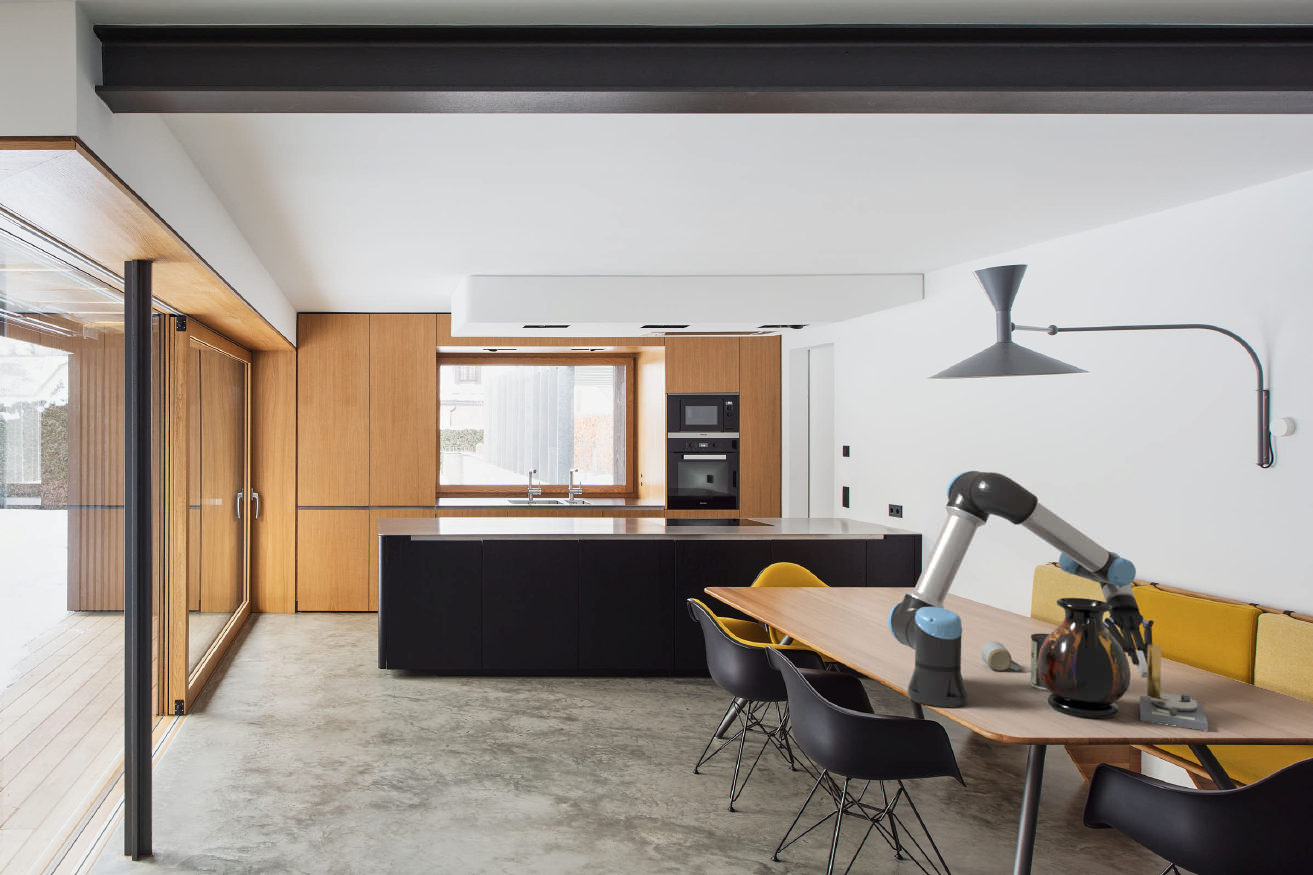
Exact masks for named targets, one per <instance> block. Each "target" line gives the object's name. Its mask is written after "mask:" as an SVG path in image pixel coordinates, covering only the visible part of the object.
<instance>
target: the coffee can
mask: <svg viewBox="0 0 1313 875" xmlns="http://www.w3.org/2000/svg"><path fill="white" fill-rule="evenodd" d="M1050 634H1051V633H1032V634H1031V635H1030V638H1031V640H1030V641H1031V643H1030V644H1031V646H1030V647H1031V648H1030V649H1031V650H1030V652H1031V654H1030V656H1031V657H1030V685H1031V686H1032V687H1033V688H1036V689H1038V690H1041V691H1045V692H1046V691H1047V692H1049V691H1048V690H1047V689H1046V687H1045V686H1044V685H1043V683H1042V682H1041V680H1040V677H1039V674H1038V656H1039V652H1040V649H1041V646H1042V644H1043V643H1044V641H1045V639H1046V638H1047V637H1048V635H1050Z"/></svg>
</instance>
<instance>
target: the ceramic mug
mask: <svg viewBox="0 0 1313 875" xmlns="http://www.w3.org/2000/svg"><path fill="white" fill-rule="evenodd" d="M980 655H981V658H982V660H983V661H984V662H985V664H986V665H987V666H988V667H990V669H992V670H994V671H997V672H1004V671H1006V670H1008V669H1012V670H1014V671H1016V672H1018V671H1020V670H1021V665H1020V664H1019V663H1017V662H1016V661H1014V660H1013V659H1012V656H1011V653H1010V652H1009V651H1008V650H1007V649H1006V647H1005V646H1004V644H1002V643H1000V642H999V641H996V640H995V641H994V640H992V641H988V642H986V643H985V644H983V646H982V648H981V651H980Z"/></svg>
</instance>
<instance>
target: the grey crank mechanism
mask: <svg viewBox="0 0 1313 875" xmlns="http://www.w3.org/2000/svg"><path fill="white" fill-rule="evenodd" d="M1203 706H1204V705H1203V704H1202V703H1198V702H1197V710H1196V711H1191V712H1184V711H1177V710H1176V709H1174V708H1171V709H1170V710H1169V709H1165V708H1161V707H1158V706H1156V705H1154V704H1152V703H1151V697H1150V696H1147V695H1143V694H1142V695H1141V694H1139V717H1140V718H1139V719H1140V720H1142V721H1141V722H1144V721H1148V722H1147V723H1150V722H1154V723H1153V724H1156V723H1161V724H1160V725H1163V724H1168V725H1167V726H1169V725H1176V726H1181V727H1180V728H1182V727H1185V728H1184V729H1188V728H1192V729H1191V730H1194V729H1199V730H1198V731H1201V730H1207V731H1208V730H1209V723H1208V719H1207V716H1206V713H1205V708H1204V707H1203ZM1207 731H1206V732H1207ZM1208 732H1209V731H1208Z"/></svg>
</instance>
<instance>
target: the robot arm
mask: <svg viewBox="0 0 1313 875" xmlns="http://www.w3.org/2000/svg"><path fill="white" fill-rule="evenodd" d="M946 496H947V500H948V501H947V503H946V506H945V510H946V513H947V517H946V520H945V521H944V524H943V526H942V528H941V529H940V532H939V534H938V537H937V538H936V541H935V543H934V545H933V547H932V550H931V551H930V554H929V556H928V558H927V560H926V563H925V564H924V567H923V569H922V571H921V573H920V575H919V578H918V580H917V583H916V585H915V587H914V589H913V590H909V591H908V592H906V593H905V595H904V597H903V599H902V601H900V602H899V603H897V604H895V605H894V606H893V607H892V608H891V610H890V611H889V614H888V617H887V625H888V629H889V631H890V633H891V635H892V637H893V638H894V639H895V640H897V641H898V642H899V643H900V644H901V645H904V646H905V647H909V648H910V649H913V650H914V670H913V672H912V675H911V678H910V680H909V682H908V686H907V697H908V699H910V700H911V701H913V702H916V703H919V704H922V705H926V706H930V707H931V705H933V706H932V707H939V708H957V707H964V706H966V705H967V704H968V692H967V688H966V684H965V681H964V679H963V674H962V638H963V637H962V633H963V626H962V619H961V617H960V615H958V613H956V612H954V611H953V610H950V609H946V608H945V606H944V602H945V600H946V598H947V595H948V593H949V590H950V589H951V586H952V584H953V582H954V580H955V577H956V575H957V574H958V571H959V568H960V567H961V564H962V562H963V560H964V558H965V556H966V553H967V551H968V550H969V547H970V545H971V542H972V541H973V538H974V536H975V535H976V531H977V530H978V528H979V527H982V526H985V525H986V523H987V521H988V519H989V517H990V515H993V516H997V517H1000V518H1003V519H1005V520H1007V521H1009V522H1010V523H1011V524H1013V525H1015V526H1018V525H1021V526H1023V527H1024V528H1025V529H1027V530H1029V531H1030V532H1032V533H1033V534H1034V535H1036V536H1037V537H1039V538H1040V539H1042V540H1043V541H1044V542H1046V543H1048V544H1049V545H1051V547H1054V548H1055V549H1056V550H1058V551H1059V552H1060V556H1059V559H1058V564H1059V568H1060V569H1061V571H1063V572H1065V573H1068V574H1070V575H1074V576H1076V577H1080V578H1083V579H1087V580H1090V581H1092V582H1096V583H1098V584H1099V585H1100V589H1101V592H1102V594H1103V598H1104V602H1106V603H1109V604H1110V605H1111V606H1112V609H1111V610H1110V611H1108V613H1109V617H1105V619H1104V621H1103V624H1104V626H1105V627H1106V629H1107V630H1108V631H1109V632H1110V633H1111V634H1112V636H1113V637H1114V638H1115V639H1116V640H1117V641H1118V642H1119V644H1120V645H1121V647H1122V648H1123V650H1124V652H1125V654H1126V653H1127V656H1128V657H1130V659H1131V663H1132V664H1133V665H1134V666H1135V665H1136V667H1137V670H1138V673H1139V677H1140V678H1146V679H1147V649H1148V644H1153V628H1152V627H1153V626H1154V621H1153V620H1152V619H1151V620H1149V621H1148V620H1147V619H1145V618H1144V616H1143V615H1142V614H1141V613H1140V612H1141V611H1140V609H1139V605H1138V602H1137V600H1136V598H1135V595H1134V592H1133V589H1132V586H1131V583H1132V582H1134V580H1135V578H1136V576H1137V570H1136V566H1135V564H1134V563H1133V562H1132V561H1131V560H1129V559H1125V557H1121V556H1120V555H1119V554H1117V553H1116V552H1114V551H1113V552H1112V551H1109V550H1107V549H1106V548H1104V547H1103V546H1101V545H1100V544H1099V543H1098V542H1095V541H1094V540H1093V539H1091V538H1090V537H1088V536H1087V535H1086V534H1084V533H1083V532H1081V531H1080V530H1079V529H1077V528H1076V527H1074V526H1073V525H1071V524H1070V523H1068V522H1067V521H1065V519H1063V518H1061V517H1060V516H1058V515H1057V514H1056V513H1054V512H1053V511H1052V510H1050V509H1049V508H1047V507H1046V506H1044V505H1043V504H1042V503H1040V502H1039V499H1038V497H1037V496H1036V495H1035V494H1034V493H1033V492H1031V491H1029V490H1028V489H1026V488H1025V487H1024V486H1022V485H1020V484H1019V483H1018V482H1016V481H1015V480H1013V479H1012V478H1010V477H1008V476H1006V475H1004V474H1001V473H999V472H993V471H992V472H987V471H977V470H968V471H963V472H961V473H958V474H956V475H955V476H954V477H952V479H951V480H950V481H949V483H948V485H947V489H946ZM1141 624H1142V627H1143V635H1144V636H1142V634H1141V629H1140V628H1141V627H1140V626H1141ZM1118 628H1119V629H1118ZM1143 637H1144V638H1143ZM1136 649H1137V650H1136ZM908 695H909V696H910V697H911V698H910V697H909V696H908ZM929 704H930V705H929Z"/></svg>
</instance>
